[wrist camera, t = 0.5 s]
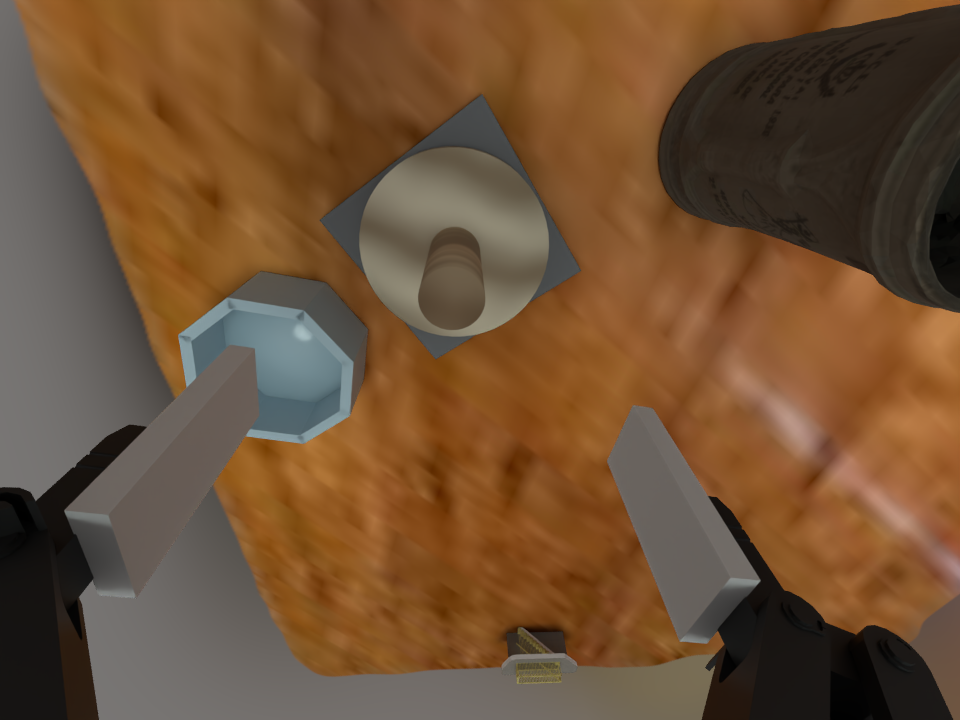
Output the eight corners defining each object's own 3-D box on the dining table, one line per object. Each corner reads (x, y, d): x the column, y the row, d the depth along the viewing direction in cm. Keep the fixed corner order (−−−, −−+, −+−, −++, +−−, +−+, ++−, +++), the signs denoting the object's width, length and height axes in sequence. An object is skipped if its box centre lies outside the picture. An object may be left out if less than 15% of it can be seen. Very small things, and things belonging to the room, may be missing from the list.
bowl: (213, 262, 33) (170, 287, 28) (371, 290, 35) (356, 318, 30) (226, 390, 39) (193, 429, 34) (361, 409, 40) (347, 449, 36)
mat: (322, 217, 32) (319, 220, 31) (481, 94, 28) (482, 94, 27) (436, 354, 38) (435, 359, 37) (578, 267, 34) (581, 270, 33)
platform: (470, 603, 57) (471, 657, 52) (604, 599, 58) (619, 652, 52) (470, 650, 63) (471, 703, 58) (592, 647, 64) (604, 699, 58)
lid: (371, 125, 28) (325, 131, 19) (568, 169, 30) (614, 194, 21) (358, 312, 35) (319, 385, 25) (520, 339, 36) (539, 417, 27)
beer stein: (617, 159, 30) (847, 248, 13) (736, -8, 26) (1302, -188, 9) (752, 266, 36) (1038, 426, 19) (870, 143, 31) (1382, 208, 14)
